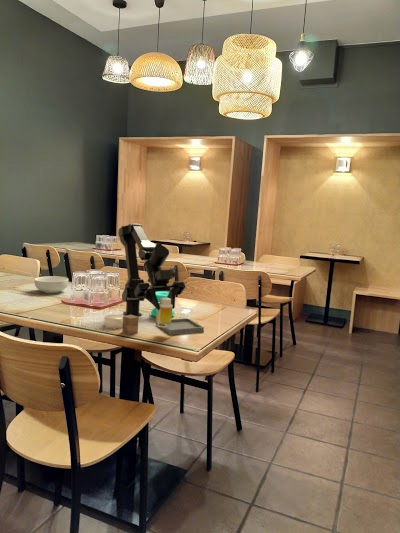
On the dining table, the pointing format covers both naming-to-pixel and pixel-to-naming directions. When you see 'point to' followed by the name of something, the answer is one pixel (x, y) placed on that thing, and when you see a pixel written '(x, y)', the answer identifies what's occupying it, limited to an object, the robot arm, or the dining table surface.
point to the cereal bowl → (51, 283)
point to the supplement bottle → (164, 313)
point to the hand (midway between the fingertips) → (166, 308)
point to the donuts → (159, 295)
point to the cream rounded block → (113, 321)
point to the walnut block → (130, 324)
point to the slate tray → (183, 327)
